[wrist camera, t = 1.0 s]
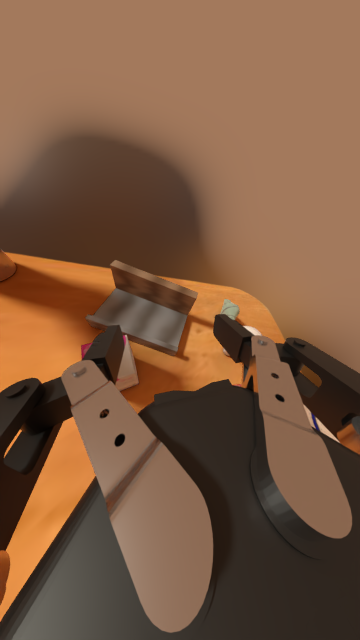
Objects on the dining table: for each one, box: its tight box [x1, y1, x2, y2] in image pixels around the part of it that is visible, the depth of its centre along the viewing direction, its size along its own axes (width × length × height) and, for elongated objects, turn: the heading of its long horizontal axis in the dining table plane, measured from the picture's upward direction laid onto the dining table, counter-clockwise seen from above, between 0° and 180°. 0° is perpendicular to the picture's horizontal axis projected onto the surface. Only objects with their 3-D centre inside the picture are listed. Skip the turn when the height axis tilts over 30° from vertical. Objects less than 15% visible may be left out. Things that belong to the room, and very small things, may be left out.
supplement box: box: [81, 335, 139, 391], centre depth 21 cm, size 6×6×12 cm
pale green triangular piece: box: [220, 299, 239, 320], centre depth 36 cm, size 8×4×7 cm, turn 178°
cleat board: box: [85, 260, 198, 356], centre depth 29 cm, size 20×13×9 cm, turn 74°
